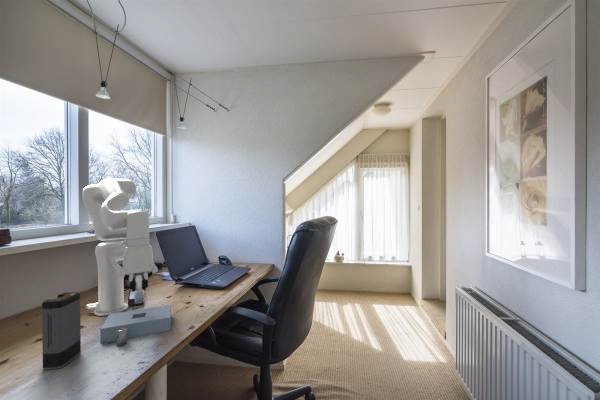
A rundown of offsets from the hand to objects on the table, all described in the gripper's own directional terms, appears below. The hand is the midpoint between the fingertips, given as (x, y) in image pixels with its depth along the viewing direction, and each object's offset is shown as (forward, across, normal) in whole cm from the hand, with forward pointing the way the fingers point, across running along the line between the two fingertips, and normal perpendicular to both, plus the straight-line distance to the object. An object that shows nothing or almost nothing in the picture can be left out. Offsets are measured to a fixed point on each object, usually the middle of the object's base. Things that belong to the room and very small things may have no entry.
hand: (139, 289), depth 107 cm
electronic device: (+15, -19, -14) cm, 29 cm away
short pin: (+15, -4, -10) cm, 19 cm away
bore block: (+15, 0, +1) cm, 15 cm away
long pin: (+5, 0, 0) cm, 5 cm away
